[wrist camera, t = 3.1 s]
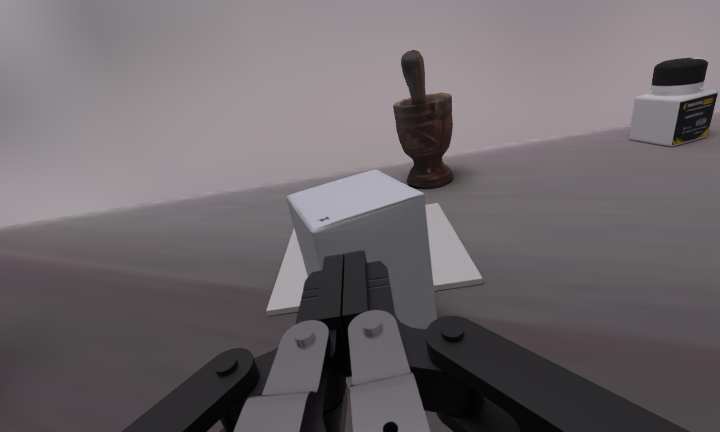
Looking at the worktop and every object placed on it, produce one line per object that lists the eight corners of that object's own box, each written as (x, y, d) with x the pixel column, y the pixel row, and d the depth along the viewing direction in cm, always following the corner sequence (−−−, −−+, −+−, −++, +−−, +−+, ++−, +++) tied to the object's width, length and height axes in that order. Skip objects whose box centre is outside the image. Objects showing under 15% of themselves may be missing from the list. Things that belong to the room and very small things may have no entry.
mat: (268, 316, 33) (266, 310, 33) (295, 229, 49) (294, 226, 49) (482, 283, 32) (482, 278, 32) (438, 206, 48) (437, 202, 48)
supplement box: (443, 353, 26) (429, 192, 20) (349, 397, 24) (306, 231, 18) (397, 298, 32) (377, 166, 27) (320, 329, 30) (282, 193, 25)
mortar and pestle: (471, 191, 51) (465, 40, 43) (413, 202, 51) (396, 53, 43) (447, 169, 62) (438, 44, 54) (398, 178, 62) (383, 54, 54)
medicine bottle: (672, 147, 53) (689, 63, 49) (627, 140, 60) (638, 64, 55) (708, 137, 55) (728, 54, 50) (660, 131, 61) (674, 56, 56)
